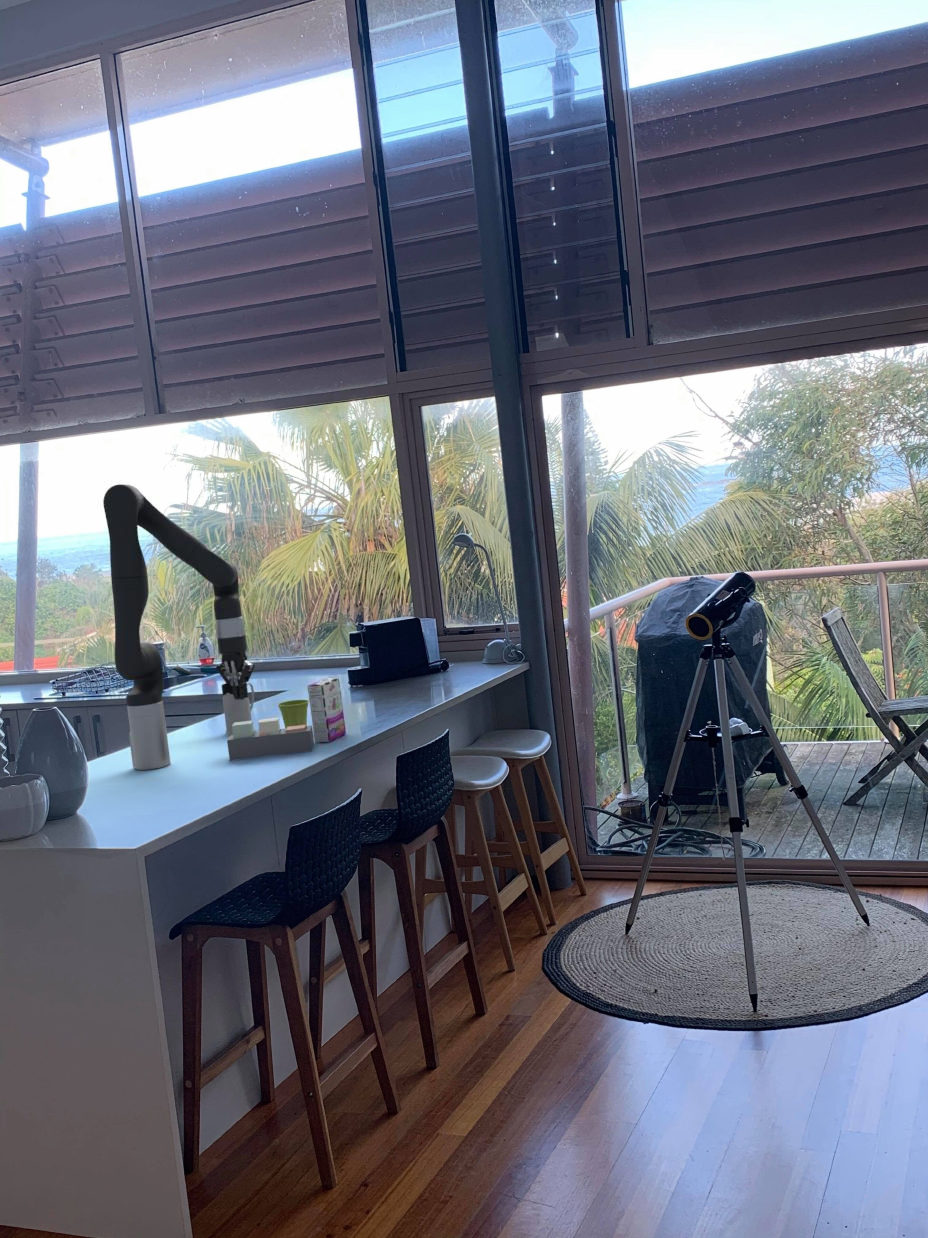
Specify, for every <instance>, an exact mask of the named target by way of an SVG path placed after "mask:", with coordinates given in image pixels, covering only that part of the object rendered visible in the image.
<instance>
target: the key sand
mask: <svg viewBox="0 0 928 1238" xmlns="http://www.w3.org/2000/svg"><path fill="white" fill-rule="evenodd" d="M257 724H258V732H259V733H260V734H267V735H271V733H275V732H278V733H280V729H281V727H280V726H281V725H280V717H279V716H278V717H271V718H262V719H259V720H258V723H257Z"/></svg>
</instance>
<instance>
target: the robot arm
mask: <svg viewBox="0 0 928 1238" xmlns="http://www.w3.org/2000/svg"><path fill="white" fill-rule="evenodd" d="M102 500H103V501H102V502H103V504H102V505H103V509H104V514H105V519H106V524H107V531H108V536H109V538H108V539H109V558H110V559H109V561H110V562H109V563H110V579H111V581H110V582H111V590H112V599H113V600H112V601H113V612H114V613H113V614H114V616H113V617H114V634H115V635H114V664H115V668H116V671H117V673H118V675H119V676H120V677H121V678H122V679H123V680H125V681H133V682H134V683H133V686H132V688H131V690H130V691H128V693H127V694H126V697H125V700H126V701H125V702H126V708H127V715H128V716H127V717H128V722H129V731H130V732H129V733H128V739H129V747H130V755H131V761H132V763H131V764H132V768H133V769H135V770H139V771H144V770H155V769H159V768H160V769H161V768H163V767H164V768H165V767H167V766H169V765H170V764H171V756H170V748H169V747H170V746H169V740H168V733H167V725H166V718H165V711H164V709H165V708H164V703H163V702H164V701H163V692H164V688H165V687H164V686H165V685H164V683H165V682H164V673H163V672H164V669H163V662H162V657H161V652H160V651H159V649H158V648H157V646H156V645H154V644H153V643H151V642H147V641H144V642H141V633H140V632H141V629H140V628H141V622H142V618H143V615H144V612H145V609H146V607H147V604H148V599H149V590H150V588H149V578H148V568H147V565H146V564H147V563H146V561H145V557H144V553H143V550H142V547H141V545H140V540H139V531H138V530H139V529H138V527H140V528H142V529H143V530H145V531H146V532H148V533H149V534H150V535H151V536H153V537H154V538H155V539H156V540H157V541H158V542H159V543H160V544H161V545H162V546H163V547H165V549H167V550H168V551H169V552H170V553H171V554H173V555H174V556H175V557H176V558H178V559H179V560H181V562H183V563H185V564H186V565H187V566H189V567H190V568H193V569H194V570H195V571H196V572H197V573H198V574H199V575H201V576H202V577H203V578H204V579H205V580H206V581H208V582H209V583H210V584H212V587H213V594H214V596H213V597H214V598H213V599H214V600H213V610H214V618H215V634H216V639H217V640H216V641H217V648H218V653H219V655H221V663H220V664H219V665H216V667H215V668H216V671H217V672H218V673H219V675H220V676H221V678H222V680H224V682H225V684H226V683H227V684H228V683H229V684H231V686H232V689H233V696H234V698H235V699H236V700H238V699H243V698H244V695H245V694H244V687H243V684H244V683H246V682H247V683H249V682H250V678H251V676H252V674H253V671H254V669H255V664H254V663H251V662H249V661H248V657H247V654H246V651H248V645H247V636H246V635H247V634H246V629H245V622H244V619H243V614H242V608H241V606H242V605H241V601H240V594H239V593H240V592H239V591H240V588H239V575H238V569H237V567H236V565H235V564H233V563H234V562H231V561H230V560H225V559H223V558H222V557H221V556H219V555H217V554H216V553H215V552H214V551H212V550H210V548H209V547H208V546H207V545H206V544H205V543H204V542H202V541H201V540H200V539H198V538H197V537H196V536H195V535H193V534H191V533H190V532H188V531H187V530H186V529H185V528H183V527H181V526H180V525H178V524H177V523H175V521H173V520H171V518H169V517H167V516H166V515H165V514H164V513H162V512H161V511H160V510H159V509H158V508H157V507H155V506H154V505H153V503H151V501H150V500H148V499H147V497H146V496H145V495H144V494H143V493H142V492H141V491H140V490H139V489H138V488H137V487H135V486H133V485H130V484H122V483H121V484H120V483H118V484H115V485H112V486H110V487H109V488H108V489H107V490H106V492H105V494H104V496H103V499H102Z"/></svg>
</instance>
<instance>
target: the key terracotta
mask: <svg viewBox="0 0 928 1238" xmlns="http://www.w3.org/2000/svg"><path fill="white" fill-rule="evenodd" d="M305 730H306V725H299V726H290V727H287V729H286V733H288V732H296V731H305Z"/></svg>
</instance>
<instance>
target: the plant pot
mask: <svg viewBox="0 0 928 1238" xmlns="http://www.w3.org/2000/svg"><path fill="white" fill-rule="evenodd" d="M309 704H310V701H309V700H308V699H292V700H286V701H282V702H279V703H277V707H278V708H279V711H280V712H281V716H282V721H283V724H284V729H286V728H287V727H290V726H299V725H306V726H308V724H307V723H308V708H309Z"/></svg>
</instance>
